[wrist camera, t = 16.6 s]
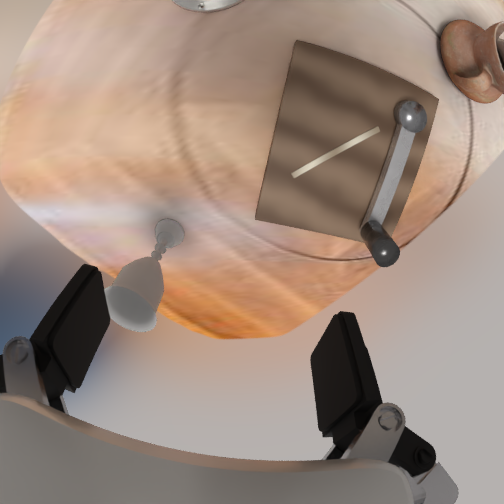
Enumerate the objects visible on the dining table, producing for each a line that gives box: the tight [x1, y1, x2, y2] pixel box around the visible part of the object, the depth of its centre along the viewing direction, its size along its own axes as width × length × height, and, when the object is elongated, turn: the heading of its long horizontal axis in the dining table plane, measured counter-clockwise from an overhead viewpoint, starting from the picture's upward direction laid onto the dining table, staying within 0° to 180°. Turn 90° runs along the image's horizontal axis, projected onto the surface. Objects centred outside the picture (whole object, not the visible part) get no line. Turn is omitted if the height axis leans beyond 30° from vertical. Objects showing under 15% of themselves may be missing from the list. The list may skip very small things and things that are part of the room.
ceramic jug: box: [440, 20, 504, 103], centre depth 18 cm, size 18×14×14 cm
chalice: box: [104, 219, 184, 332], centre depth 35 cm, size 7×7×18 cm
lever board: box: [255, 40, 439, 243], centre depth 34 cm, size 26×22×2 cm
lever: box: [359, 100, 427, 267], centre depth 30 cm, size 22×4×8 cm, turn 168°
